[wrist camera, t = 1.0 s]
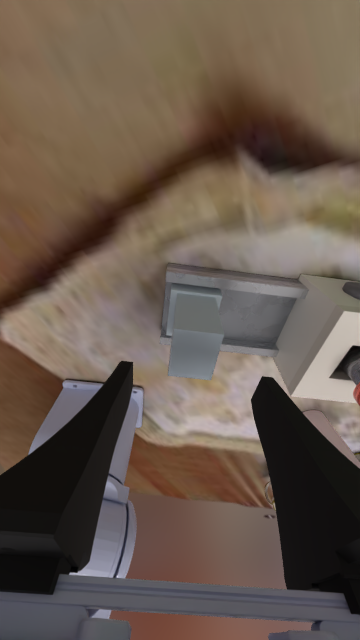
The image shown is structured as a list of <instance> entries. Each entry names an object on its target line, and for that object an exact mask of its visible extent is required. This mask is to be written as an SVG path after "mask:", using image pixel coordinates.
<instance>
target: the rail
mask: <svg viewBox="0 0 360 640" xmlns="http://www.w3.org/2000/svg"><path fill="white" fill-rule="evenodd" d="M165 282H166V287H165V298H164V309H163V319H162V330H161V336H160V344H164V345H171V339H172V336H170V335H166V332H167V323H168V313H169V304H170V295H171V287H172V283H173V284H181V285H189V286H197V287H205V288H213V289H220V290H221V293H222V299H221V303H220V307H219V315H220V319H221V323H222V328H223V332H224V337H223V340H222V344H221V347H220V351H226V352H235V353H243V354H252V355H261V356H270V357H277V354H278V352H279V349H278V347H277V346H276V342H277V340H278V338H279V336H280V333H281V331H282V329H283V327H284V325H285V323H286V321H287V319H288V316H289V314H290V312H291V310H292V308H293V306H294V304H295V301H296V299H297V298H300V299H305V298H306V295H307V293H308V291H309V289H308V288H307V287H306V286H305V285H303V284H302V283H301V282H300V281H299V280H297V279H289V278H281V277H274V276H266V275H258V274H250V273H243V272H235V271H227V270H220V269H212V268H204V267H196V266H189V265H181V264H173V263H168V267H167V271H166V281H165Z"/></svg>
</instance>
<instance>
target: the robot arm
mask: <svg viewBox="0 0 360 640" xmlns="http://www.w3.org/2000/svg"><path fill="white" fill-rule="evenodd" d="M143 392H144V390H143V389H142V388H140V387H133V362H127V361H121V362H120V363H119V364H118V366H117V367H116V369H115V370H114V371H113V373H112V374H111V376H110V377H109V378H108V379H107V381H106V382H105V383H104V384H101V383H92V382H82V381H72V380H65V381H64V382H63V390H62V391H61V393H60V395H59V396H58V398H57V400H56V401H55V403H54V405H53V407H52V408H51V410H50V412H49V413H48V415H47V417H46V418H45V420H44V422H43V423H42V425H41V427H40V429H39V430H38V432H37V434H36V436H35V438H34V440H33V442H32V445H31V448H30V451H29V454H28V456H26V457H25V458H24V459H22V460H21V461H20V462H18V463H17V464H16V465H14V466H13V467H11V468H10V469H8V470H7V471H6V472H4V473H3V474H1V475H0V640H130V636H131V626H130V625H129V622H128V621H122V620H113V619H109V616H110V613H111V610H119V611H134V612H151V613H167V614H184V615H199V616H200V615H201V616H217V617H233V618H250V619H265V620H281V621H298V622H313V624H312V627H311V631H292V630H289V631H287V632H281V633H270V634H269V636H268V638H269V640H360V468H358V467H357V466H356V465H355V464H354V463H353V462H352V461H350V460H349V459H348V458H347V457H346V456H345V455H344V454H342V453H341V452H340V451H339V450H338V449H337V448H336V447H335V446H334V445H333V444H332V443H331V442H330V441H329V440H328V439H327V438H326V437H325V436H324V435H323V434H322V433H321V432H320V431H319V430H318V429H317V428H316V427H315V426H314V425H313V424H312V423H311V422H310V421H309V420H308V418H307V417H306V416H305V415H304V414H303V413H302V412H301V411H300V409H299V408H298V407H297V406H296V405H295V404H294V402H293V401H292V400H291V399H290V398H289V396H288V395H287V394H286V393H285V392H284V390H283V389H282V388H281V387H280V386H279V384H278V383H277V382H276V381H275V380H274V378H272V377H263V376H262V378H261V380H260V382H259V384H258V386H257V388H256V390H255V392H254V394H253V396H252V399H251V403H252V410H253V415H254V420H255V424H256V427H257V431H258V434H259V438H260V441H261V444H262V448H263V451H264V455H265V458H266V462H267V466H268V470H269V475H270V480H271V485H272V490H273V496H274V502H275V508H276V514H277V521H278V527H279V534H280V541H281V550H282V559H283V567H284V577H285V583H286V587H287V590H286V589H272V588H258V587H243V586H228V585H213V584H199V583H183V582H169V581H153V580H140V579H125V577H126V574H127V572H128V569H129V566H130V563H131V559H132V555H133V550H134V545H135V539H136V515H135V511H134V506H133V504H132V502H131V501H130V500H127V499H128V494H129V488H128V487H125V486H124V482H125V477H126V472H127V467H128V462H129V457H130V453H131V448H132V443H133V438H134V433H135V428H140V427H141V426H142V414H143Z"/></svg>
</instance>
